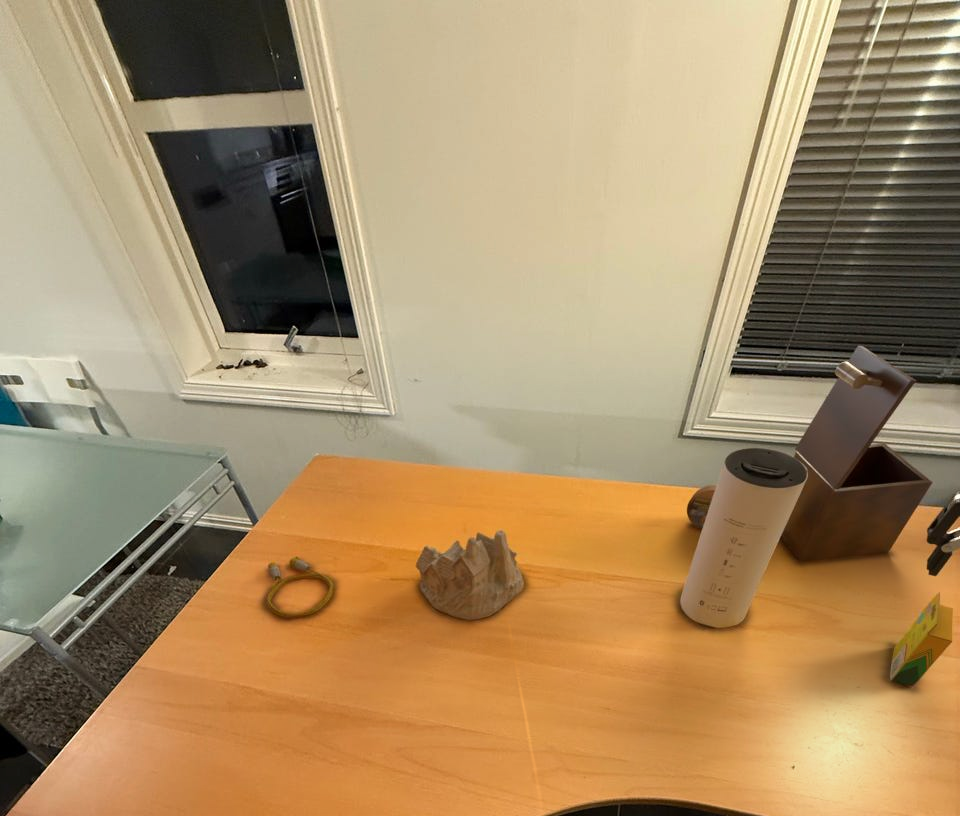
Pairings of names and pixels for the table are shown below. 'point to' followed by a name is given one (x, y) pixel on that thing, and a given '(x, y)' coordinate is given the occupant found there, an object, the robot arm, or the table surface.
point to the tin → (700, 505)
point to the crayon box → (922, 643)
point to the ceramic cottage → (471, 576)
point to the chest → (855, 508)
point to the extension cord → (299, 565)
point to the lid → (853, 414)
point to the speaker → (741, 534)
